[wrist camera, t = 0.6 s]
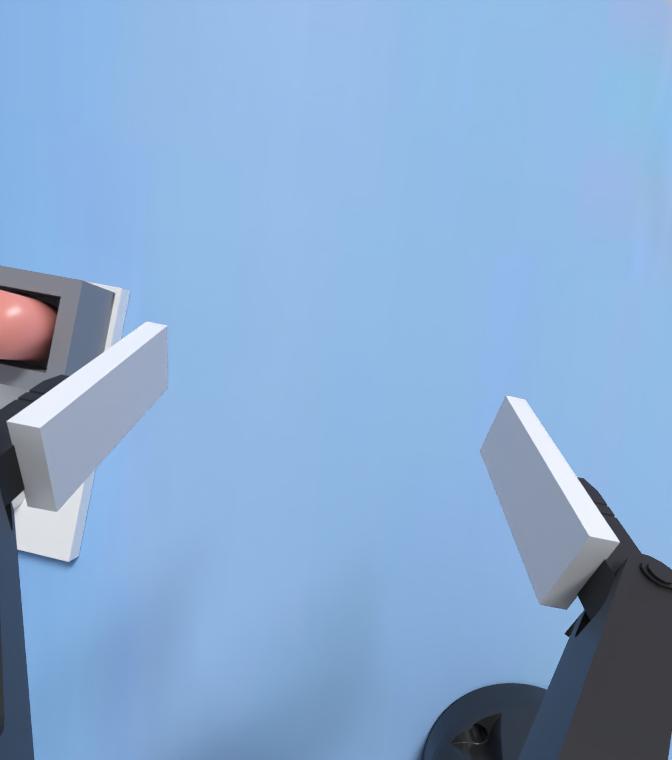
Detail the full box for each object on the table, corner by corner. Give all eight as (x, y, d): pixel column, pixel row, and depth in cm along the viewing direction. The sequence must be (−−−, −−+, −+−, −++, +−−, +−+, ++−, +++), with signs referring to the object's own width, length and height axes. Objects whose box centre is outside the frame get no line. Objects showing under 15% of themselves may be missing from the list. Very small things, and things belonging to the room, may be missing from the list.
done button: (60, 366, 33) (13, 363, 28) (5, 355, 33) (-50, 350, 29) (72, 307, 33) (27, 294, 28) (17, 296, 33) (-37, 282, 29)
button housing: (95, 395, 35) (60, 396, 31) (0, 375, 35) (-47, 374, 31) (115, 292, 35) (82, 280, 31) (20, 275, 35) (-24, 261, 31)
